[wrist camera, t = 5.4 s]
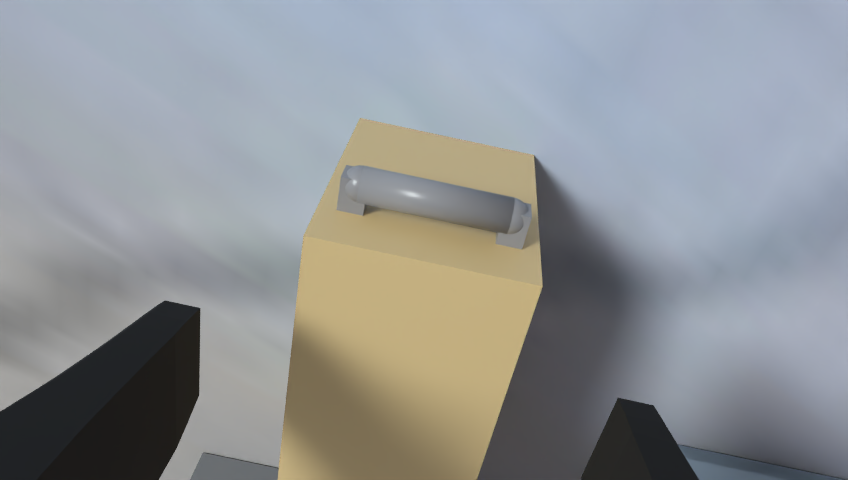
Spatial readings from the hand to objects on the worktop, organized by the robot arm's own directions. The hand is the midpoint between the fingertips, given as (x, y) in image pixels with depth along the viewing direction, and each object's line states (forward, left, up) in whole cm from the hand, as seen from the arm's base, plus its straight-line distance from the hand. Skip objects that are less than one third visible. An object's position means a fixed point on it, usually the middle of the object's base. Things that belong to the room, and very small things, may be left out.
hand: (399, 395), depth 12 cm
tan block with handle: (0, +3, -7) cm, 7 cm away
